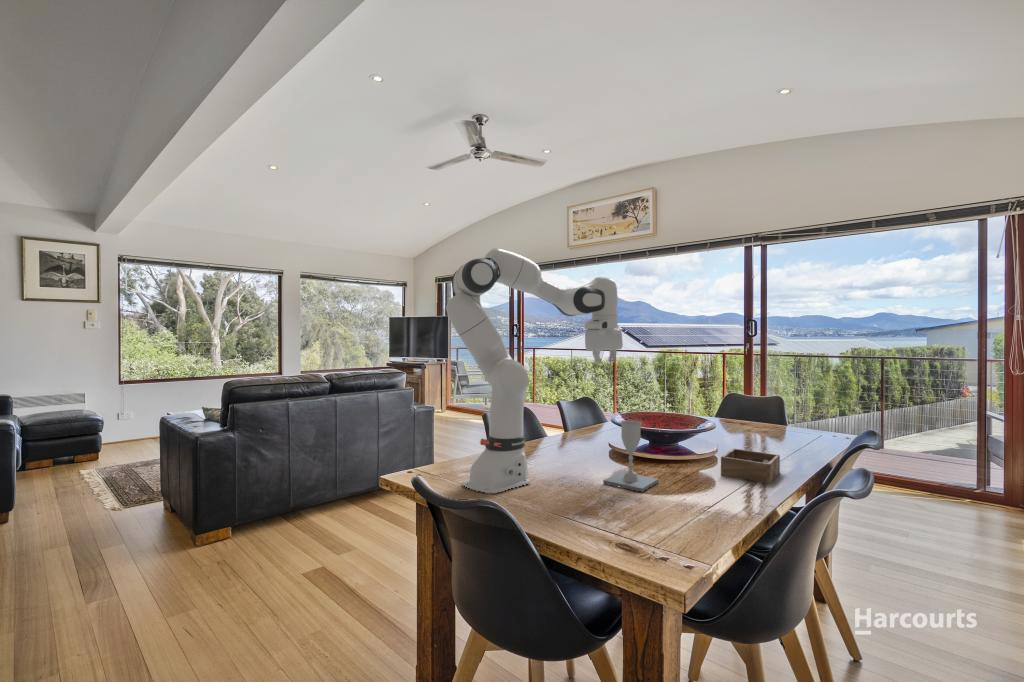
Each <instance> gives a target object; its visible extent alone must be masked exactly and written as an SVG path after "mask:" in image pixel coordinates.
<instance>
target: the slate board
mask: <svg viewBox="0 0 1024 682" xmlns="http://www.w3.org/2000/svg"><path fill="white" fill-rule="evenodd" d="M625 473H626V471H621V470H620V471H619V472H617V473H615V474H613V475H610V476H608V477H607V478H604V479H603V480H602V483H604V484H603V485H606V484H609V485H608V486H611V485H614V486H613V487H615V486H620V487H624V488H628V489H633V490H637V491H642V492H641V493H644V492H645V491H644V490H646V489H647V490H649V489H650V488H649V487H651V486H652V487H654V486H655V484H656V485H657V484H659V483H660V482H659V478H655V477H650V476H647V475H642V474H637V476H638V479H639V481H637V482H628V481H624V480H623V477H624V475H625ZM653 485H654V486H653ZM652 487H651V488H652ZM624 488H623V489H624ZM648 488H649V489H648ZM628 489H627V490H628ZM633 490H632V491H633ZM647 490H646V491H647ZM637 491H636V492H637ZM643 491H644V492H643Z"/></svg>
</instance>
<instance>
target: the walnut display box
mask: <svg viewBox="0 0 1024 682" xmlns="http://www.w3.org/2000/svg"><path fill="white" fill-rule="evenodd" d="M753 458H759V459H761V462H763V460H768V461H769V463H761V462H755V461H749V459H750V460H752V459H753ZM780 459H781V457H780V454H774V453H768V452H761V451H755V450H748V449H741V448H740V449H739V448H732V449H730V450H729V451H727V452H726V453H724V454H722V456H721V457H720V475H721V476H724V475H725V477H731V478H736V477H737V479H741V478H742V480H747V479H748V480H747V481H752V480H753V481H752V482H758V483H759V482H760V483H765V484H771V483H772V482H773V481H774V480H775V479H776V477H777V476H779V474H780V468H781V465H780V464H781V463H780V462H781V461H780Z"/></svg>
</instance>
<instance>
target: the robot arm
mask: <svg viewBox="0 0 1024 682" xmlns="http://www.w3.org/2000/svg"><path fill="white" fill-rule="evenodd" d="M496 283H499V284H502V285H504V286H506V287H509V288H510V289H513V290H516V291H519V292H522V293H527V294H530V295H532V296H536V297H538V299H542V300H543V301H546V302H547V303H550V304H551V305H553V306H554V307H555V308H556V309H557V310H558V311H559V312H560V313H561V314H562V315H564V316H566V317H574V316H575V317H576V316H583V315H589V314H591V319H589V320H588V321H586V322H585V323H584V329H585V333H584V347H585V349H586V351H587V352H592V355H593V358H594V364H595V365H601V364H602V358H600V357H601V356H600V354H601V352H603V351H609V357H608V358H607V359H608V360H607V361H608V363H610V364H611V363H616V362H615V361H616V356H617V350H622V349H623V345H624V344H623V331H622V330H621V327H620V326H619V323H618V320H619V319H618V311H617V307H618V303H619V302H618V288H617V287H618V286H617V284H616V281H615V280H614V279H611V278H609V277H603V276H600V277H595V278H594V279H592V280H591V281H590V282H588V283H587V284H583V285H581V286H578V287H574V288H561V287H559V286H556V285H555V284H554V283H553V284H552V283H551V282H549V281H547V280H545V279H543V277H542V271H541V268H540V265H539V264H537V263H536V262H535V261H533V260H531V259H529V258H528V257H525V256H523V255H521V254H520V253H519V254H518V253H516V252H514V251H510V250H508V249H507V250H506V249H503V248H499V247H497V248H496V247H494V248H492V249H490V250H489V251H488V252H487V253H486V254H485V256H484V257H481V258H474V259H472V260H469V261H467V262H466V263H464V264H462V265H461V266H460V267H459V268H458V269H457V270H456V271H454V274H453V275H452V279H451V289H452V297H451V298H450V299H449V300H448V302H447V304H446V307H445V308H446V309H445V310H446V313H447V315H448V318H449V320H450V322H451V324H452V326H453V328H454V330H455V332H456V333H457V335H458V337H460V339H461V341H462V343H463V344H464V346H465V347H466V348H467V350H468V351H469V353H470V354H471V356H472V358H473V360H474V361H475V363H476V365H477V367H478V368H479V370H480V371H481V373H482V375H483V377H484V379H485V380H486V382H487V383H488V385H489V386H490V387H491V400H490V407H489V412H488V414H489V416H488V417H489V418H488V419H489V421H488V423H489V425H488V426H489V429H488V430H489V431H488V432H489V433H488V434H489V435H487V439H485V438H481V439H480V441H479V444H480V445H481V446H484V450H483V452H481V453H480V455H479V456H478V457H477V458H476V460H475V461H473V463H472V464H471V466H470V472H469V478H467V479H465V480H463V481H462V484H463V485H462V486H463V487H464V486H465V487H464V488H466V487H467V488H466V489H468V488H470V489H469V490H471V489H473V490H472V491H474V490H477V491H476V492H478V491H481V492H480V493H482V492H485V494H498V492H499V493H501V492H505V490H506V491H509V490H508V489H510V490H512V489H511V488H513V489H516V488H515V487H517V488H520V487H519V486H521V487H523V486H522V485H524V486H527V485H526V484H528V485H531V479H530V477H529V472H528V461H527V456H526V453H525V450H524V449H525V448H524V447H525V446H526V445H525V443H526V439H525V434H524V410H525V402H526V394H527V386H528V383H529V374H528V371H527V369H526V367H525V366H524V365H523V364H522V363H520V362H519V361H517V360H514V359H513V358H512V356H511V355H510V353H509V351H508V349H507V347H506V346H505V344H504V341H503V338H502V336H501V334H500V333H499V331H498V330H497V328H496V327H495V325H494V324H493V322H492V321H491V319H490V317H489V316H488V315H487V313H486V311H485V310H484V308H483V307H482V306H483V305H482V304H481V296H482V295H484V294H486V293H487V292H489V291H490V290H491V289H492V288H493V287H494V285H495V284H496Z"/></svg>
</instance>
